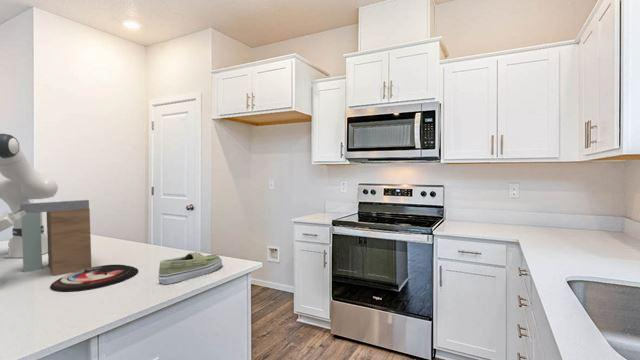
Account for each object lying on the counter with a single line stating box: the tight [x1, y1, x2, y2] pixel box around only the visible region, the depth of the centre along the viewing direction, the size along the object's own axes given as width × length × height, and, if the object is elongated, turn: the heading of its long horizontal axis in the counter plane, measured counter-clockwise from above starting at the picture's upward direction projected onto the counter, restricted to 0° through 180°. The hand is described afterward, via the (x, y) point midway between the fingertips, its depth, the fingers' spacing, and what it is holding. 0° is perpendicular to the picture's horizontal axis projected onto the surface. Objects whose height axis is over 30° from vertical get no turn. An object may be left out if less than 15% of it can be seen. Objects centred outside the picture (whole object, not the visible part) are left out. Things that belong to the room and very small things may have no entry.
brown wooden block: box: [45, 208, 92, 276], centre depth 147 cm, size 22×13×26 cm, turn 43°
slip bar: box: [20, 199, 90, 213], centre depth 137 cm, size 4×22×4 cm, turn 133°
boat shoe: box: [157, 251, 223, 285], centre depth 135 cm, size 10×29×9 cm, turn 151°
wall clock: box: [50, 264, 139, 293], centre depth 132 cm, size 26×5×30 cm
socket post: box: [21, 212, 43, 273], centre depth 144 cm, size 8×6×26 cm
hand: (24, 210), depth 131 cm, fingers open, 8 cm apart
